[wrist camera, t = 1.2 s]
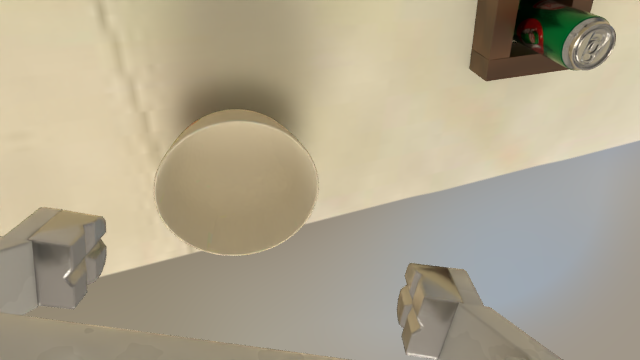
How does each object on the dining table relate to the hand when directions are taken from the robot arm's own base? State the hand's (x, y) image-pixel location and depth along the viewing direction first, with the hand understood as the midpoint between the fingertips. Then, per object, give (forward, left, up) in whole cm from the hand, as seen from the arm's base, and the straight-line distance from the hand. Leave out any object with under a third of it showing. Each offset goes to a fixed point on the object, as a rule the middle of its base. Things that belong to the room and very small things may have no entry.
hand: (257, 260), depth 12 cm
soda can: (+6, +32, -39) cm, 51 cm away
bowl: (+17, -2, -39) cm, 42 cm away
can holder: (+6, +32, -38) cm, 51 cm away
